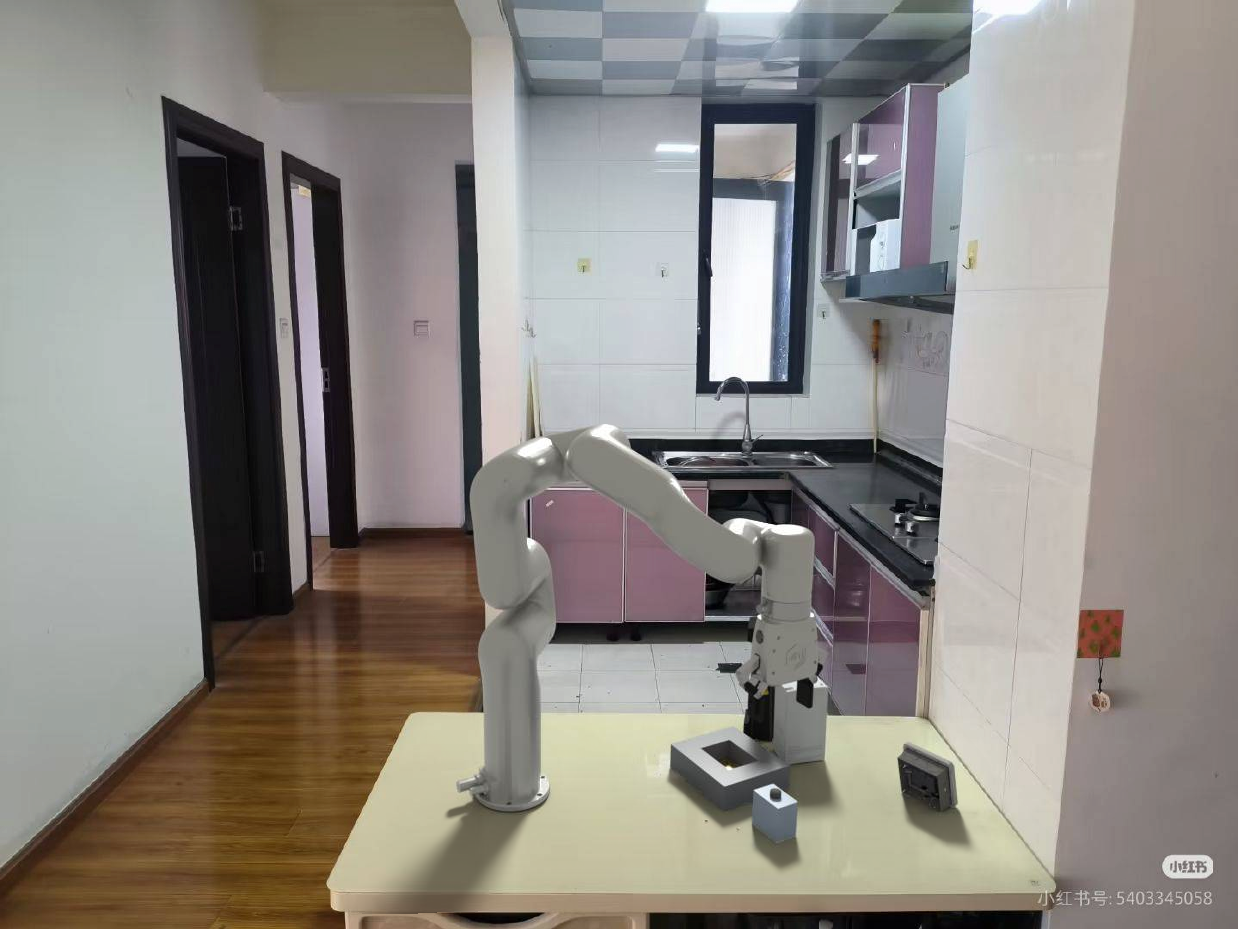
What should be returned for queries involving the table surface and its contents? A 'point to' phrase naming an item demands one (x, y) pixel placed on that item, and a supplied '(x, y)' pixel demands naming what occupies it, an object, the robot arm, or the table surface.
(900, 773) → the electrical switch
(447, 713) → the table surface
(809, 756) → the skincare box
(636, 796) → the table surface
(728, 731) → the socket block
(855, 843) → the table surface
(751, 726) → the portable radio
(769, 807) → the plug
